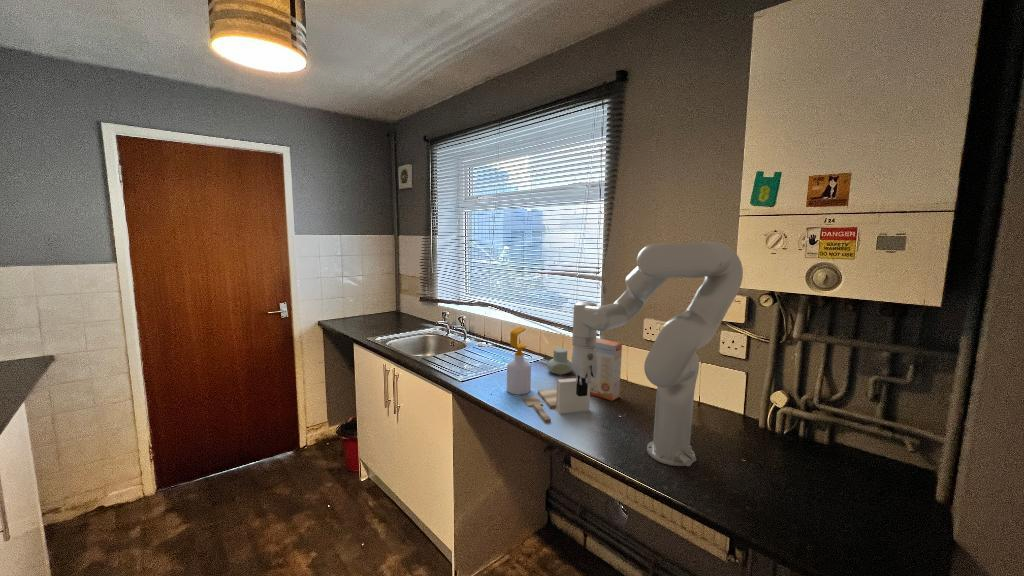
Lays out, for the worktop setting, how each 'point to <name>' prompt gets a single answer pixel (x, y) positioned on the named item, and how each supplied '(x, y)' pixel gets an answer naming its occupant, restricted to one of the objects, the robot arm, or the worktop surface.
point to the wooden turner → (537, 407)
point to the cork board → (549, 397)
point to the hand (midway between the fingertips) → (581, 395)
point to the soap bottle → (518, 368)
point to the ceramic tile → (570, 397)
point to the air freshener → (560, 362)
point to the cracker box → (607, 370)
